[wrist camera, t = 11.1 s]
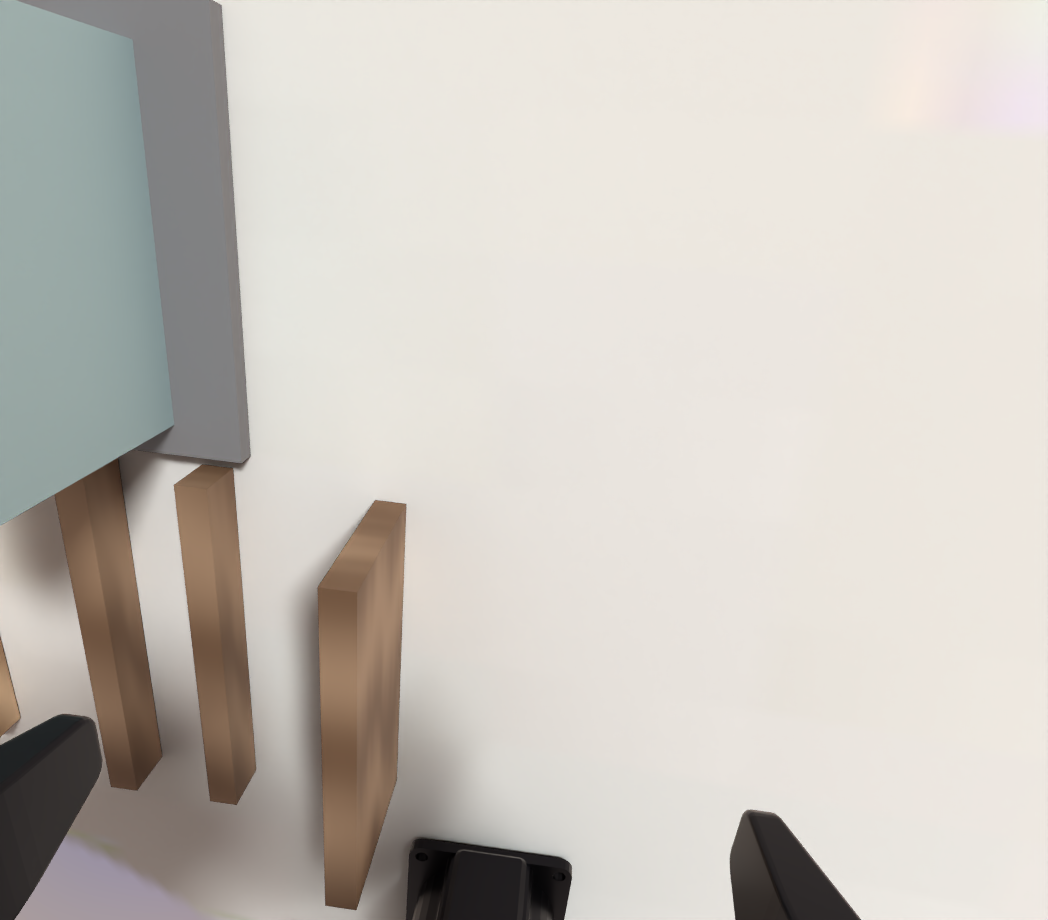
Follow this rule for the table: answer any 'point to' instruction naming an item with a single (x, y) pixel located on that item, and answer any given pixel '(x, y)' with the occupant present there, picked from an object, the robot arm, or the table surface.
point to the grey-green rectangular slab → (73, 259)
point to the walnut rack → (221, 654)
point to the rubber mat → (187, 212)
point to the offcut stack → (6, 697)
